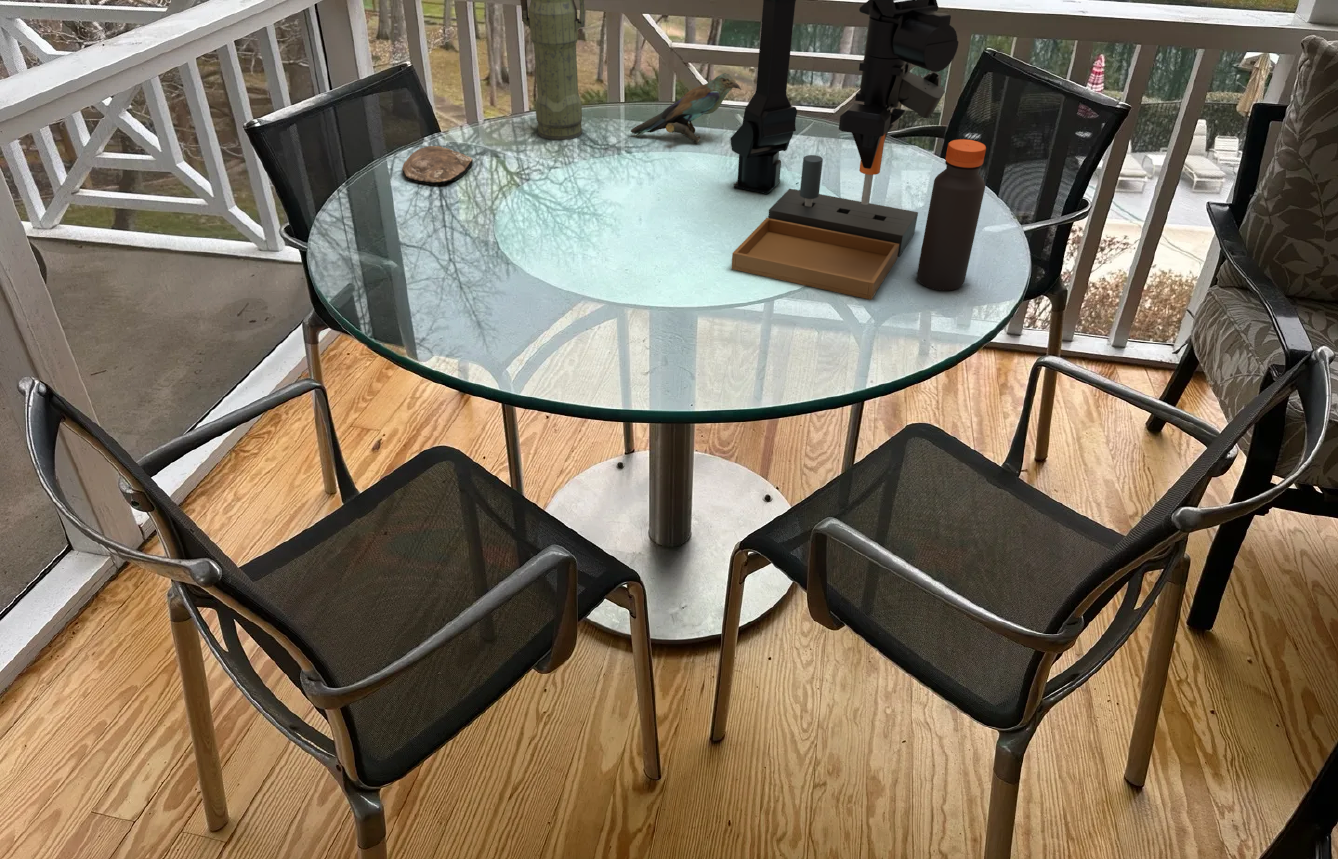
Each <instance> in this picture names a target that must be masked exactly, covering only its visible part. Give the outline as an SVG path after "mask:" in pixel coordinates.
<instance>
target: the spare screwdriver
mask: <svg viewBox="0 0 1338 859" xmlns="http://www.w3.org/2000/svg"><path fill="white" fill-rule="evenodd" d="M823 160H824V159H823V157H822V156H820V155H815V154H809V155H808V154H807V155H805V156H803V158H802V169H801V179H800V189H799V190H800V196H801V197H803V198H805V205H804V206H807V207H812V201H813V199H815V198H817V197H818V196H819V194H820V190H821V180H822V171H823V162H824V161H823Z"/></svg>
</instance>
